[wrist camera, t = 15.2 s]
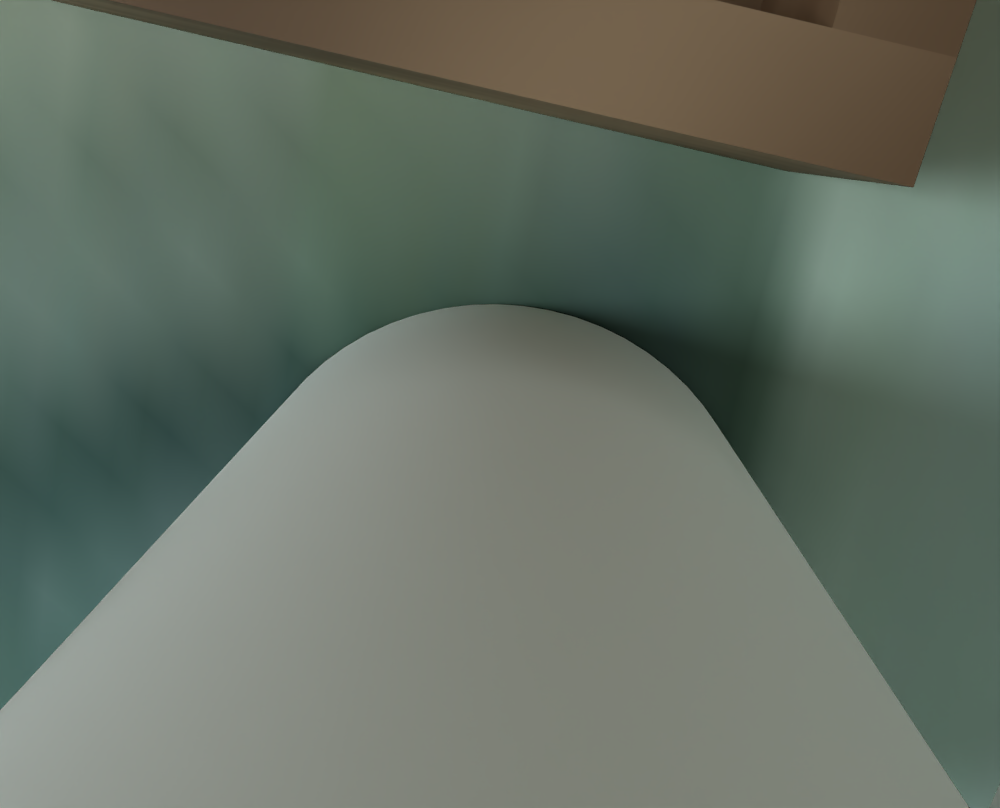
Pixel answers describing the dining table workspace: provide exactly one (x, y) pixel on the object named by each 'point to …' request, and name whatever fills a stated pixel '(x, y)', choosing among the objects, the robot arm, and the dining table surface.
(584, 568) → the cup
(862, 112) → the tray
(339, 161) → the dining table surface
